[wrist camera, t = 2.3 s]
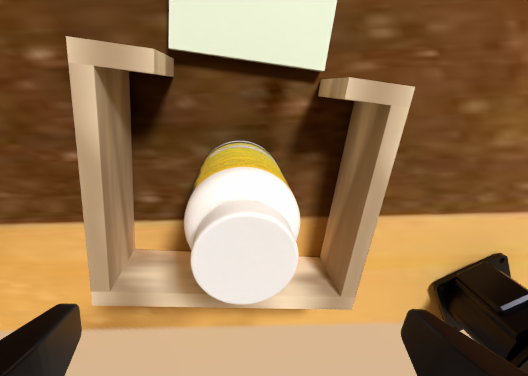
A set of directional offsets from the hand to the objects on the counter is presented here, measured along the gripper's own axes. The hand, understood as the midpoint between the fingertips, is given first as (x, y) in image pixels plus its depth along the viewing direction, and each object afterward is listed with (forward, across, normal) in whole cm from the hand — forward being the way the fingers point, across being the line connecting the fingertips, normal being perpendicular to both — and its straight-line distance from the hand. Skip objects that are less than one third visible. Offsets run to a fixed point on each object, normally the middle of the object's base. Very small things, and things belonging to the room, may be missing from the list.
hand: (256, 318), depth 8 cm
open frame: (+12, 0, 0) cm, 13 cm away
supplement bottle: (+13, 0, 0) cm, 13 cm away
